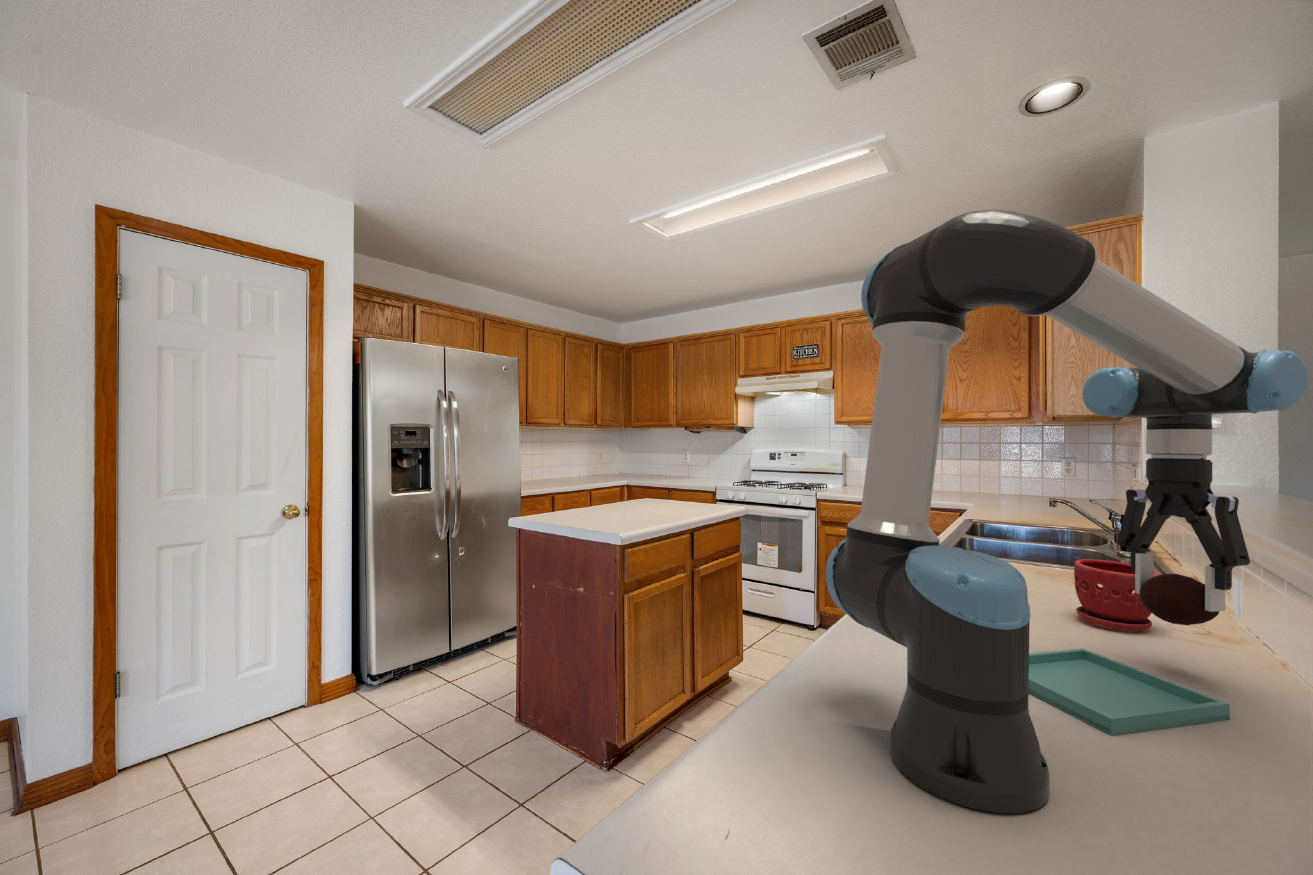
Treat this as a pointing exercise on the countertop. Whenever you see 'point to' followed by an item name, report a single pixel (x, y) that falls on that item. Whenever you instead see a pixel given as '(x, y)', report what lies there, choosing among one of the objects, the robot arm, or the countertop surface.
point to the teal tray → (1117, 693)
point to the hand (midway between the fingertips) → (1177, 601)
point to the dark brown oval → (1176, 599)
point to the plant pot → (1110, 595)
